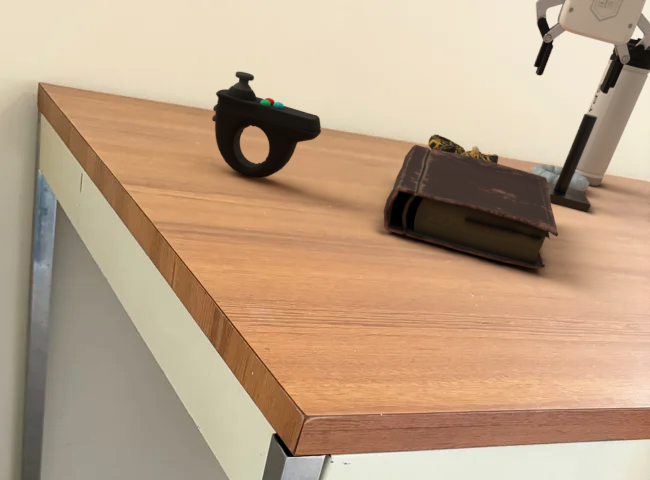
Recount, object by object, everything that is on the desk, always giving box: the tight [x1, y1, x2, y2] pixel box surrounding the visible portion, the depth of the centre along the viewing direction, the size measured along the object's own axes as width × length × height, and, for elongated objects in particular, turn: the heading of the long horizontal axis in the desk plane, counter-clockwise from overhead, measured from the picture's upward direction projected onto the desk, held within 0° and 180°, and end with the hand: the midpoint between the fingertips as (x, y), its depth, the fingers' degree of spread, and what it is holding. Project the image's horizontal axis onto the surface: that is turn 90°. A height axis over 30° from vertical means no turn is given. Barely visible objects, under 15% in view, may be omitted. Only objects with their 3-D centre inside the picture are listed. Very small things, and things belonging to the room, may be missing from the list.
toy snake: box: [427, 133, 499, 164], centre depth 120 cm, size 18×5×10 cm
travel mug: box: [575, 37, 650, 187], centre depth 128 cm, size 6×7×20 cm
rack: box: [548, 113, 597, 213], centre depth 116 cm, size 8×8×11 cm
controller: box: [211, 71, 322, 179], centre depth 93 cm, size 4×12×10 cm, turn 71°
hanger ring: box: [530, 163, 590, 192], centre depth 127 cm, size 9×9×2 cm
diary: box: [383, 144, 559, 269], centre depth 96 cm, size 19×25×5 cm
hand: (570, 83), depth 119 cm, fingers open, 9 cm apart
